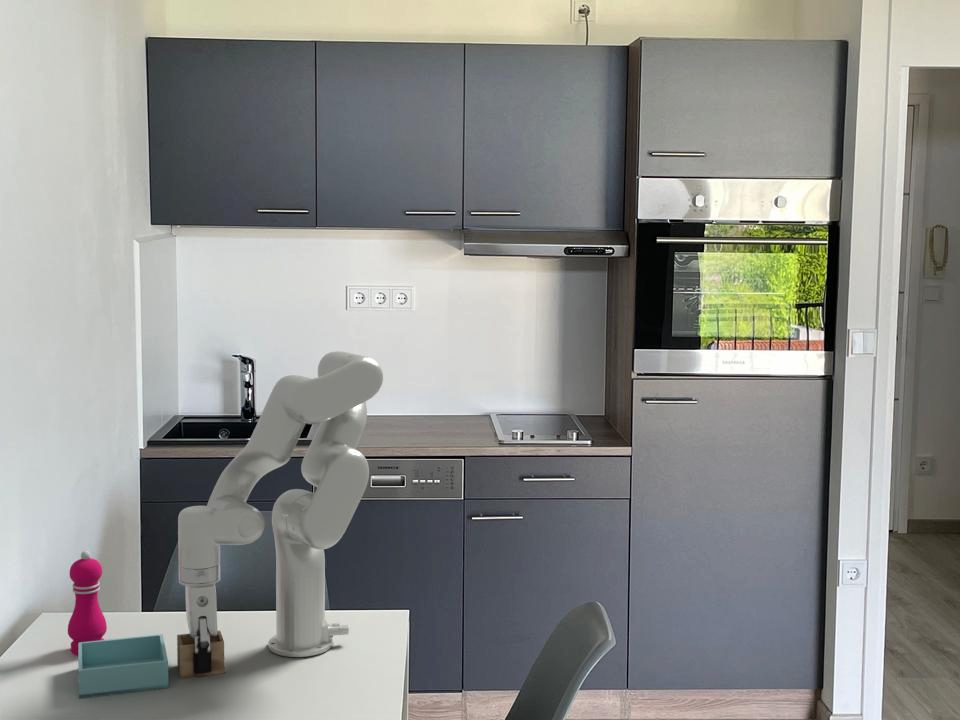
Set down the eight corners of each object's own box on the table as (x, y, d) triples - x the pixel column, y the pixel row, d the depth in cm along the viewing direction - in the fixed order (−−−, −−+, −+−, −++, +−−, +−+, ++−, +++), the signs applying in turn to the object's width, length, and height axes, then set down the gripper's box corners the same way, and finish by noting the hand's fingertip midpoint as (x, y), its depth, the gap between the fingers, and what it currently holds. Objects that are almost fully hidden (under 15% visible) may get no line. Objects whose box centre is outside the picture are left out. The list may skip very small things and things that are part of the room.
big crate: (163, 659, 214) (162, 634, 214) (168, 687, 201) (168, 661, 200) (79, 668, 209) (78, 642, 209) (79, 698, 196) (78, 671, 195)
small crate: (220, 660, 214) (220, 630, 213) (224, 673, 208) (224, 642, 208) (177, 665, 211) (177, 634, 211) (180, 678, 206) (179, 646, 205)
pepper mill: (94, 658, 214) (92, 557, 212) (60, 655, 215) (57, 554, 213) (114, 645, 221) (112, 547, 219) (81, 642, 222) (78, 544, 220)
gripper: (225, 585, 201) (226, 680, 203) (214, 558, 217) (215, 647, 219) (182, 589, 198) (183, 685, 200) (175, 561, 215) (176, 651, 217)
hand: (200, 664), depth 210 cm, fingers closed on small crate, 6 cm apart
